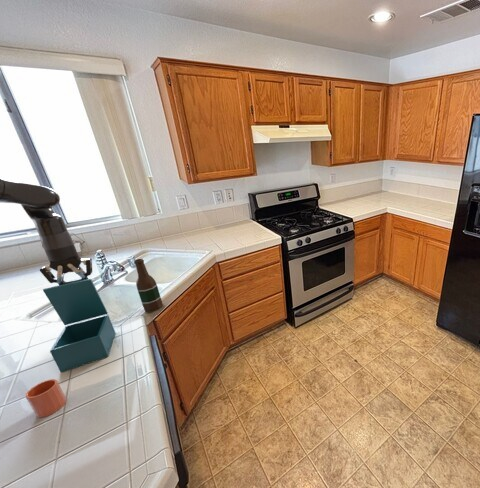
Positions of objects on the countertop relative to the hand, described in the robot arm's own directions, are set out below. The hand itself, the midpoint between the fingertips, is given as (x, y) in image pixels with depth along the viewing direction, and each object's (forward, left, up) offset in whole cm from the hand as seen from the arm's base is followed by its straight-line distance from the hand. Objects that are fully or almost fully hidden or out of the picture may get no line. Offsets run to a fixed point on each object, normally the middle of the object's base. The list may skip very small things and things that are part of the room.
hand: (76, 288), depth 96 cm
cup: (-4, -34, -21) cm, 40 cm away
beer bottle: (+19, +11, -21) cm, 31 cm away
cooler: (0, -10, -21) cm, 23 cm away
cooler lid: (0, -4, -4) cm, 6 cm away
